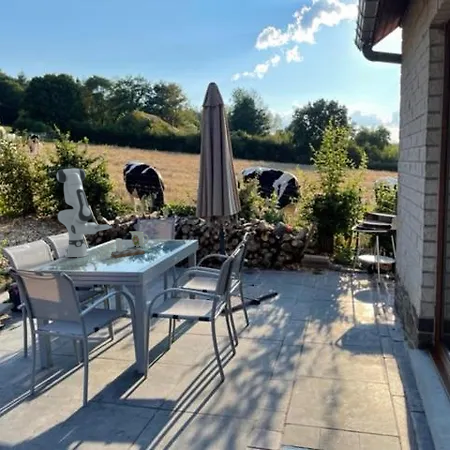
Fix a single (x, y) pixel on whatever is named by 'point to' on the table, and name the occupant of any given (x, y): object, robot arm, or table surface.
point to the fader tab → (119, 245)
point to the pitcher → (138, 238)
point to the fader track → (128, 253)
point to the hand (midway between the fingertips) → (109, 227)
